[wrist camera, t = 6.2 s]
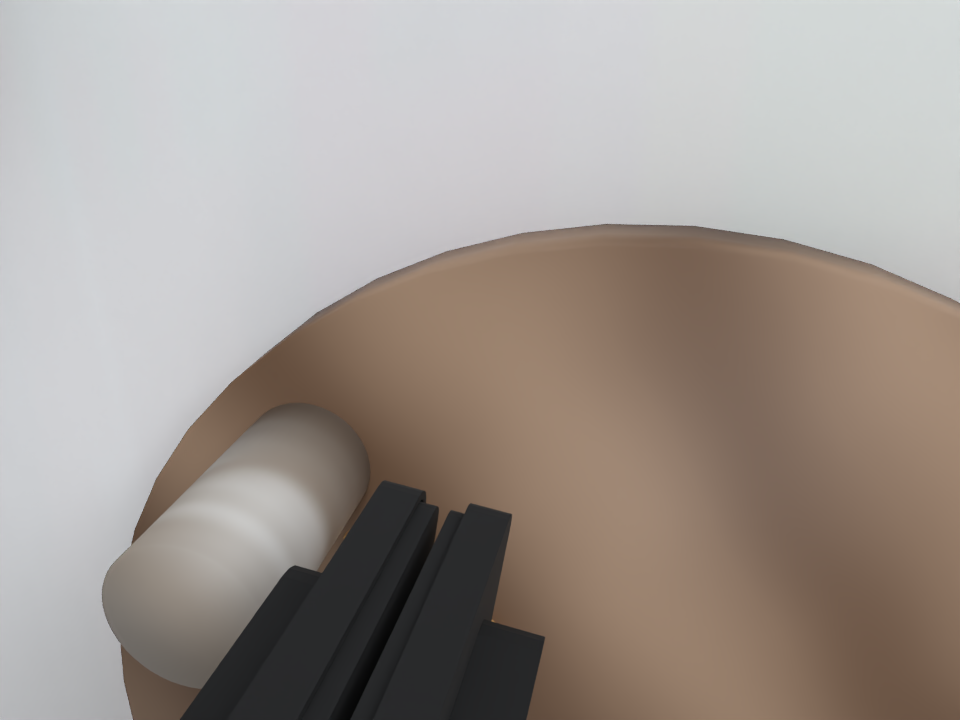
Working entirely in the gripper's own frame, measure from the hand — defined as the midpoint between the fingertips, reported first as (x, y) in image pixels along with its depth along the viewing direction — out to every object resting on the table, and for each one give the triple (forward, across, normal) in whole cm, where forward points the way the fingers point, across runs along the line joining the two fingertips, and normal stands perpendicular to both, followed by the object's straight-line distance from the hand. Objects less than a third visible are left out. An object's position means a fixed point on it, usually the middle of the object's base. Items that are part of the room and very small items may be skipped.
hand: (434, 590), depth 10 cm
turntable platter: (+6, -4, +7) cm, 10 cm away
